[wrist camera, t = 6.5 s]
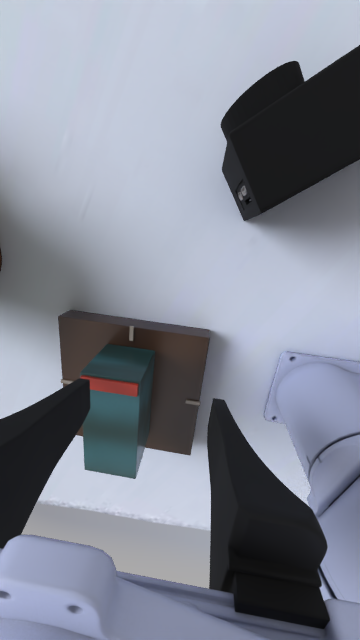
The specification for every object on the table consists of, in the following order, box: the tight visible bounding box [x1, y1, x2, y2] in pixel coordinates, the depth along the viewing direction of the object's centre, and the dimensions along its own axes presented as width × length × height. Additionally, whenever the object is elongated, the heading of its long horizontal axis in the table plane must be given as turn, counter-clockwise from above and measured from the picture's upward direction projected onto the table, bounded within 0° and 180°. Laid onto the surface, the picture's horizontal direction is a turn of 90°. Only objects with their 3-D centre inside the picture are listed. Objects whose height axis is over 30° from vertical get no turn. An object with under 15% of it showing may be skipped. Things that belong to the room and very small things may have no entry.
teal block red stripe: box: [80, 344, 155, 479], centre depth 21 cm, size 10×5×5 cm, turn 174°
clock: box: [58, 310, 210, 455], centre depth 25 cm, size 14×14×2 cm
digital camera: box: [221, 45, 360, 221], centre depth 14 cm, size 10×5×7 cm, turn 119°
